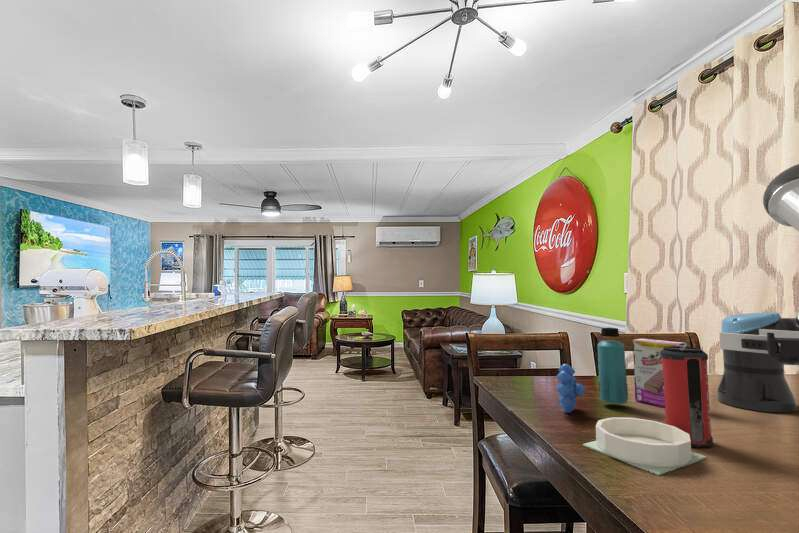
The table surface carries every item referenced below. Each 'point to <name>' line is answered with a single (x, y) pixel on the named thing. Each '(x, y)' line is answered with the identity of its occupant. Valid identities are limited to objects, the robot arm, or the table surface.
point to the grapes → (568, 388)
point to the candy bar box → (650, 370)
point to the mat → (651, 469)
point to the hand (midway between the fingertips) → (741, 338)
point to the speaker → (687, 393)
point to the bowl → (644, 442)
